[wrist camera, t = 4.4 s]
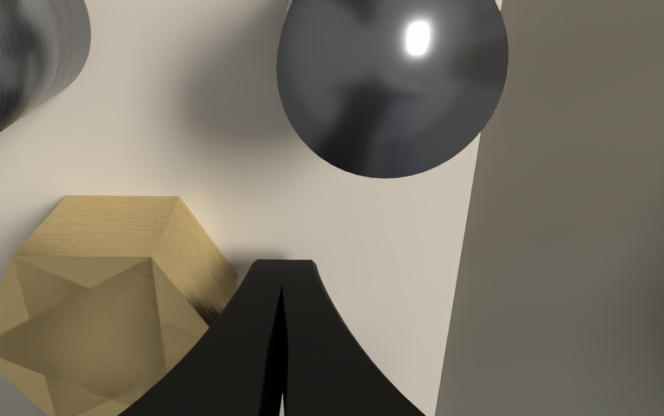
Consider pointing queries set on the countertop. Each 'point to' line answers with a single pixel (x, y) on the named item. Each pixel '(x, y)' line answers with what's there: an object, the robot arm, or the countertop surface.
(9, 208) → the plate
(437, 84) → the spacers
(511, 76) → the countertop surface
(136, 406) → the robot arm
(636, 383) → the countertop surface
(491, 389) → the countertop surface
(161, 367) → the faceted gold polyhedron
